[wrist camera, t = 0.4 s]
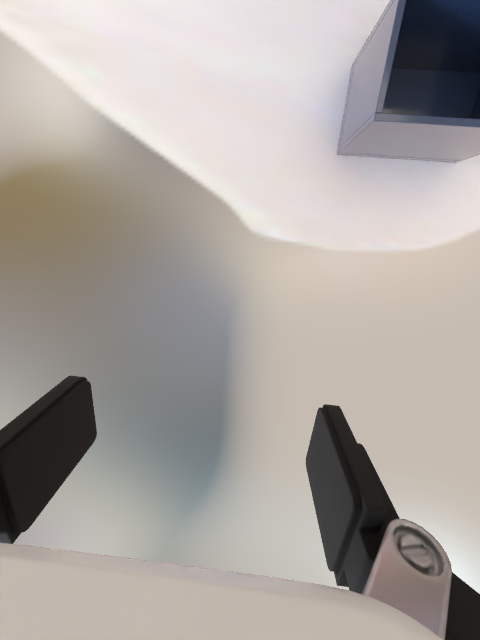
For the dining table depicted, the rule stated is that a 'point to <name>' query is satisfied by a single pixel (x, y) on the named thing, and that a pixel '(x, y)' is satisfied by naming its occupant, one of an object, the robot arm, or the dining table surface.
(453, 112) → the utensil holder
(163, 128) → the dining table surface
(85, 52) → the dining table surface
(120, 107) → the dining table surface
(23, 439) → the robot arm
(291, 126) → the dining table surface
